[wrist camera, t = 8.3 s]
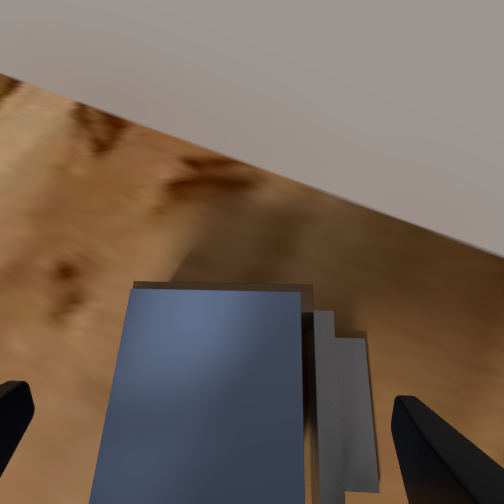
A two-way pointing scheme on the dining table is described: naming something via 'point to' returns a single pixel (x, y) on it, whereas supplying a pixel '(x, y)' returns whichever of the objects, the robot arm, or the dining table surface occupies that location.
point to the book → (205, 401)
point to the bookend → (339, 414)
